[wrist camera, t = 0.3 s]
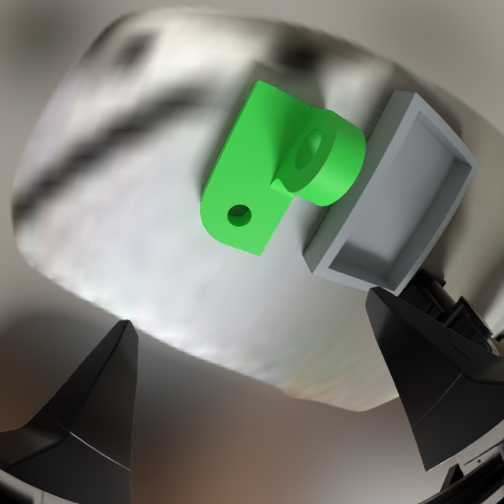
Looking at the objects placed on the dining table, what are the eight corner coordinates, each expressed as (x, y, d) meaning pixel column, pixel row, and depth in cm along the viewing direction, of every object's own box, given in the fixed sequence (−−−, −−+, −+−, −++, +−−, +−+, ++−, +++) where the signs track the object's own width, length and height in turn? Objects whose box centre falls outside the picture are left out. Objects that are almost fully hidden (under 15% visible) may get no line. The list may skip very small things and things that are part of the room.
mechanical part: (255, 81, 17) (279, 72, 10) (325, 118, 19) (380, 135, 12) (190, 219, 22) (181, 281, 15) (256, 243, 24) (273, 307, 17)
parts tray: (460, 154, 21) (480, 163, 18) (381, 283, 28) (394, 300, 26) (393, 89, 17) (415, 92, 15) (302, 254, 25) (311, 274, 22)
